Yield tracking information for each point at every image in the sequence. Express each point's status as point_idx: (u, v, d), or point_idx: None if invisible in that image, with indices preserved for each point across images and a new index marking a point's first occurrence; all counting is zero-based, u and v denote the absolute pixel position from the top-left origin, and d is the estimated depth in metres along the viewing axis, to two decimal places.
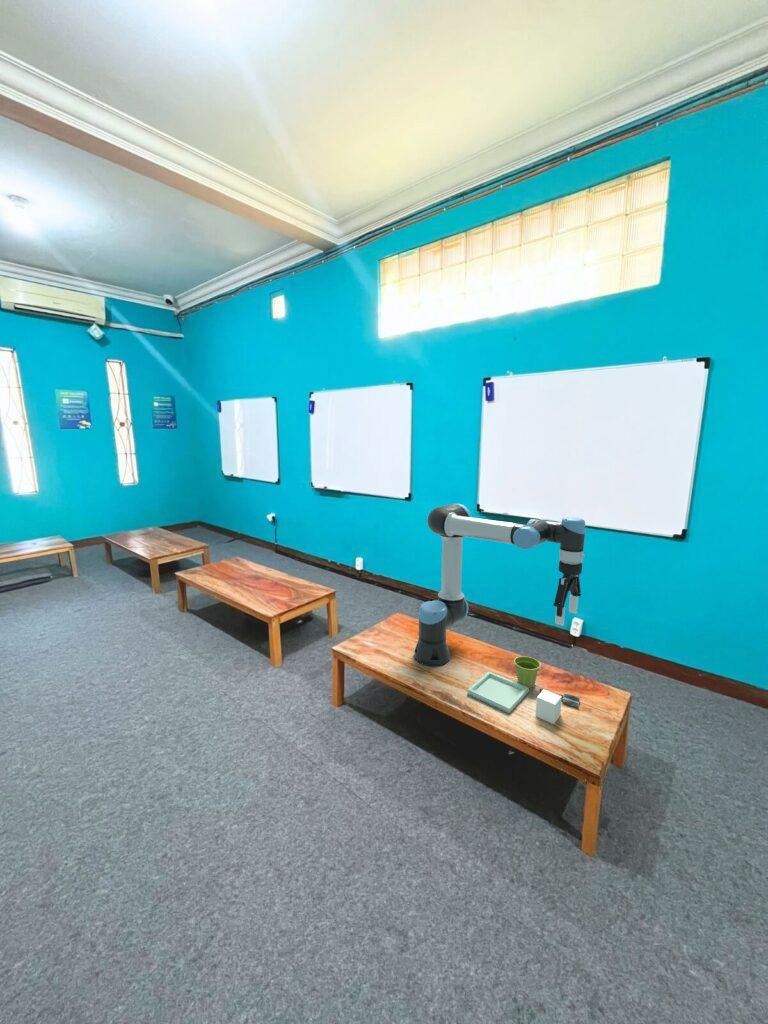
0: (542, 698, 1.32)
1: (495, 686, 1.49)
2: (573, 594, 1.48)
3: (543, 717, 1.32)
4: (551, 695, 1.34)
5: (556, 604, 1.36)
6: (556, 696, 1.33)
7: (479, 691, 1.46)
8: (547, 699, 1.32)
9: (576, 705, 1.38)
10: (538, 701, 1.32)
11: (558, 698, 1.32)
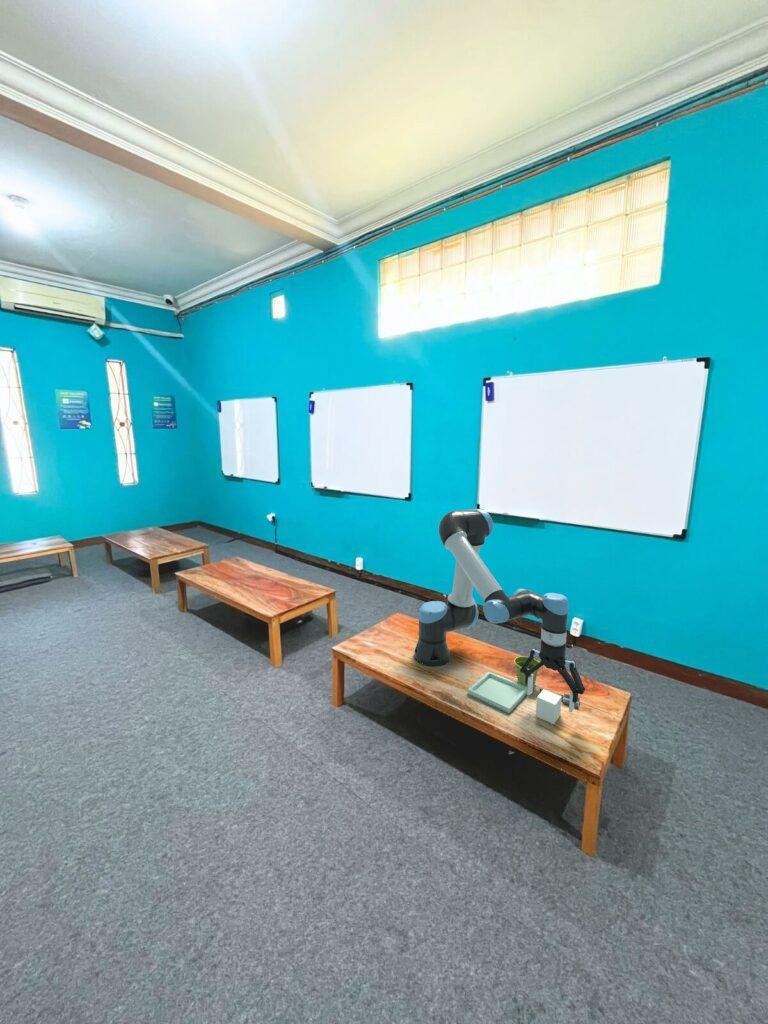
0: (543, 698, 1.32)
1: (495, 686, 1.49)
2: None
3: (543, 717, 1.32)
4: (551, 695, 1.34)
5: None
6: (556, 696, 1.33)
7: (479, 691, 1.46)
8: (547, 699, 1.32)
9: (576, 705, 1.38)
10: (538, 701, 1.32)
11: (558, 698, 1.32)
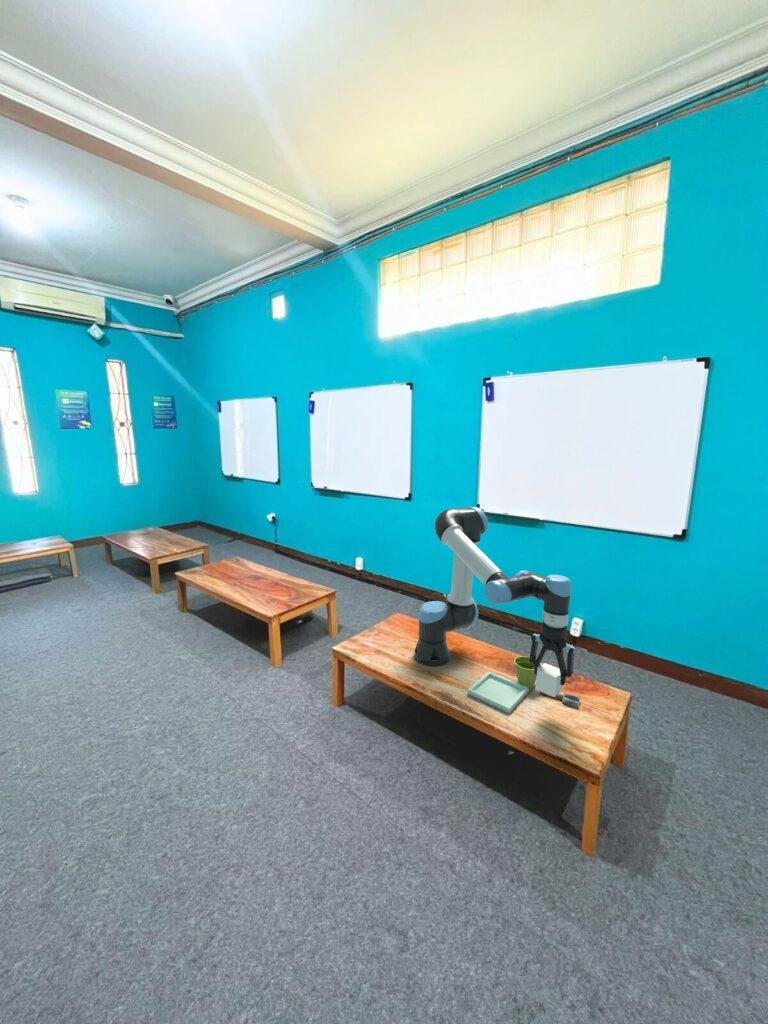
0: (543, 671, 1.31)
1: (495, 686, 1.49)
2: None
3: (544, 690, 1.31)
4: (552, 668, 1.32)
5: None
6: (557, 669, 1.32)
7: (479, 691, 1.46)
8: (548, 672, 1.30)
9: (576, 705, 1.38)
10: (539, 674, 1.31)
11: (559, 671, 1.31)
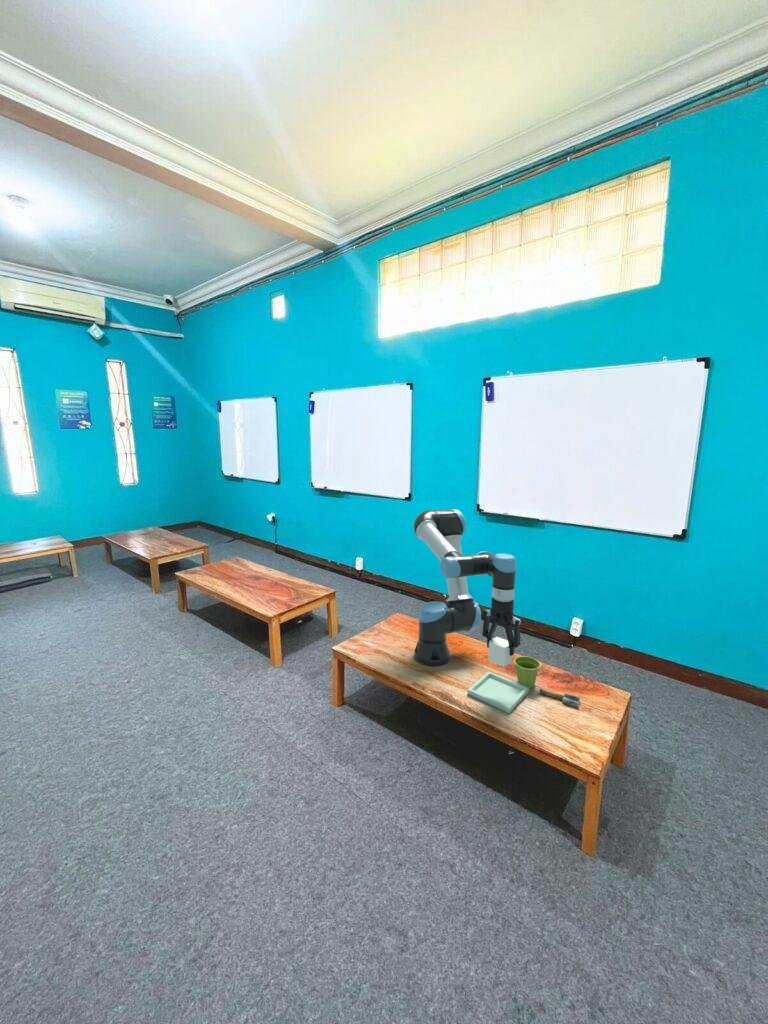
0: (494, 643, 1.42)
1: (495, 686, 1.49)
2: None
3: (494, 661, 1.42)
4: (503, 641, 1.43)
5: None
6: (507, 642, 1.43)
7: (479, 691, 1.46)
8: (498, 643, 1.41)
9: (576, 705, 1.38)
10: (490, 646, 1.42)
11: (508, 643, 1.42)
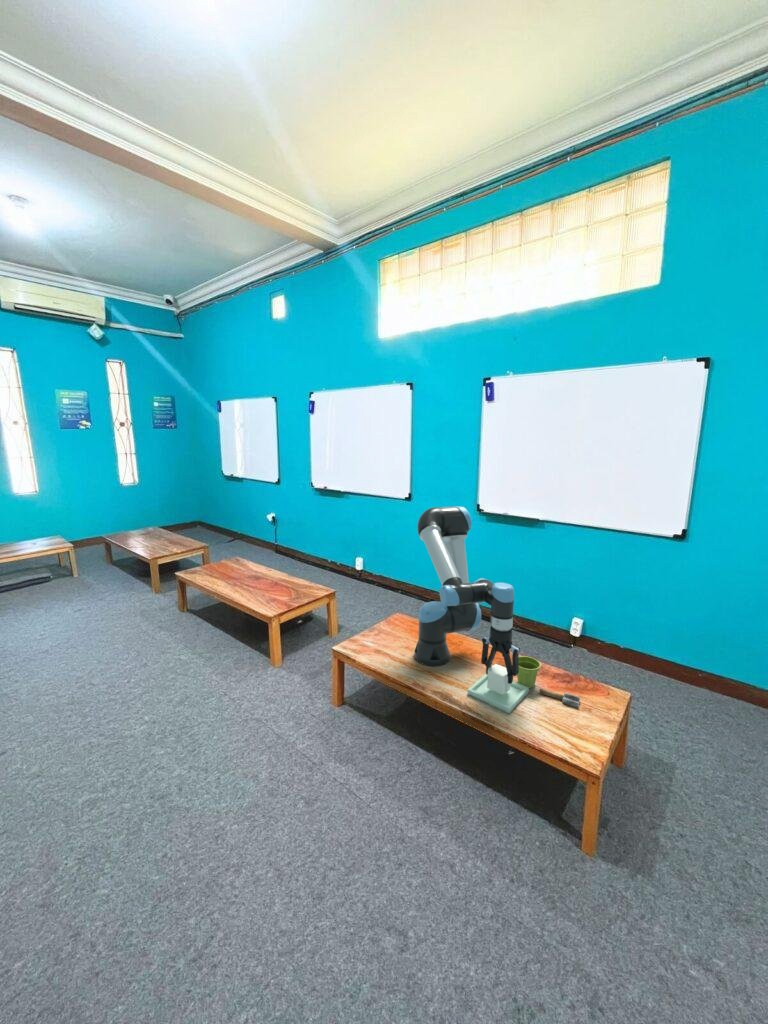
0: (493, 670, 1.43)
1: None
2: None
3: (493, 688, 1.43)
4: (502, 668, 1.45)
5: None
6: (506, 669, 1.44)
7: (479, 691, 1.46)
8: (497, 671, 1.43)
9: (576, 705, 1.38)
10: (489, 674, 1.44)
11: None
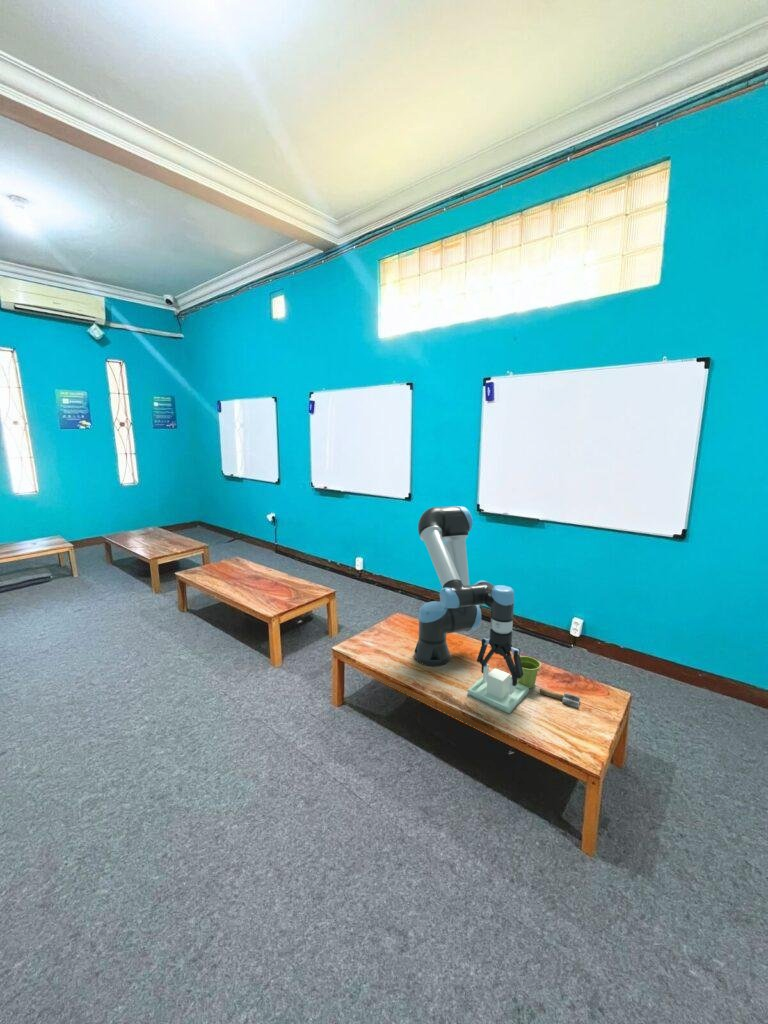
0: (492, 675, 1.44)
1: None
2: None
3: (493, 693, 1.44)
4: (501, 673, 1.45)
5: None
6: (505, 674, 1.45)
7: (479, 691, 1.46)
8: (496, 676, 1.43)
9: (576, 705, 1.38)
10: (488, 678, 1.44)
11: (506, 675, 1.44)
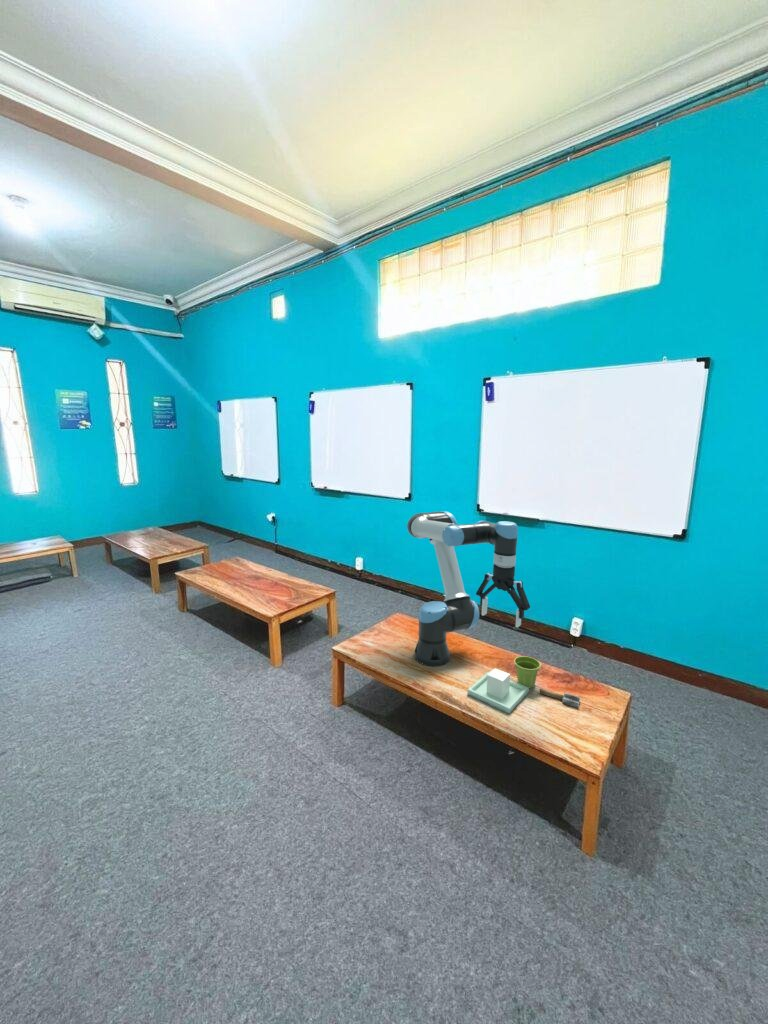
0: (492, 675, 1.44)
1: None
2: None
3: (493, 693, 1.44)
4: (501, 673, 1.45)
5: None
6: (505, 674, 1.45)
7: (479, 691, 1.46)
8: (496, 676, 1.43)
9: (576, 705, 1.38)
10: (488, 678, 1.44)
11: (506, 675, 1.44)
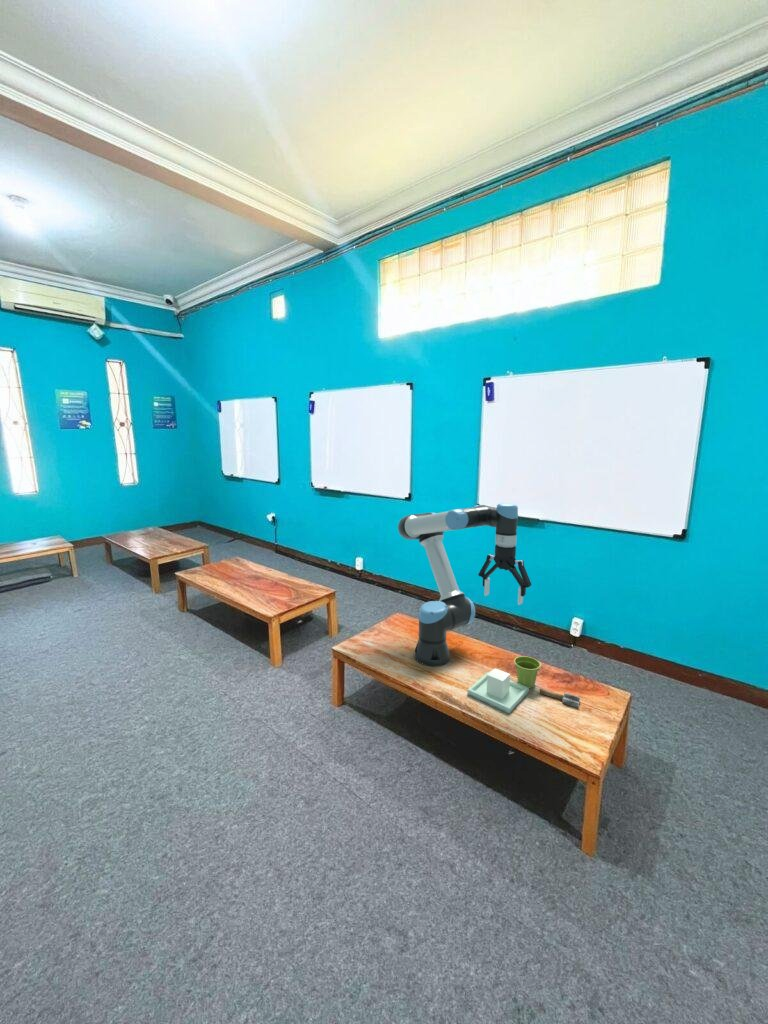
0: (492, 675, 1.44)
1: None
2: None
3: (493, 693, 1.44)
4: (501, 673, 1.45)
5: None
6: (505, 674, 1.45)
7: (479, 691, 1.46)
8: (496, 676, 1.43)
9: (576, 705, 1.38)
10: (488, 678, 1.44)
11: (506, 675, 1.44)
